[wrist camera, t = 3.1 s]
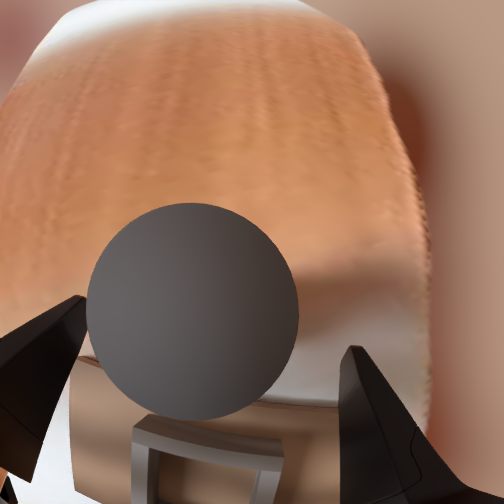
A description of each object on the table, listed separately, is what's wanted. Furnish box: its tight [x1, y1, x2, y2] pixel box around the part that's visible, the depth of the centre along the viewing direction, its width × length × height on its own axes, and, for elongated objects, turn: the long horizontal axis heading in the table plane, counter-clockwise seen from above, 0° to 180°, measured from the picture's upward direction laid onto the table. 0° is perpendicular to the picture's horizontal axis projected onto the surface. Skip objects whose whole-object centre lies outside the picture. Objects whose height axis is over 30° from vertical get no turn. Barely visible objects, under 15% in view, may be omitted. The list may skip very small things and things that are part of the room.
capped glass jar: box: [86, 203, 299, 421], centre depth 11 cm, size 4×4×12 cm
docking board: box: [69, 356, 340, 504], centre depth 13 cm, size 12×20×4 cm, turn 81°
